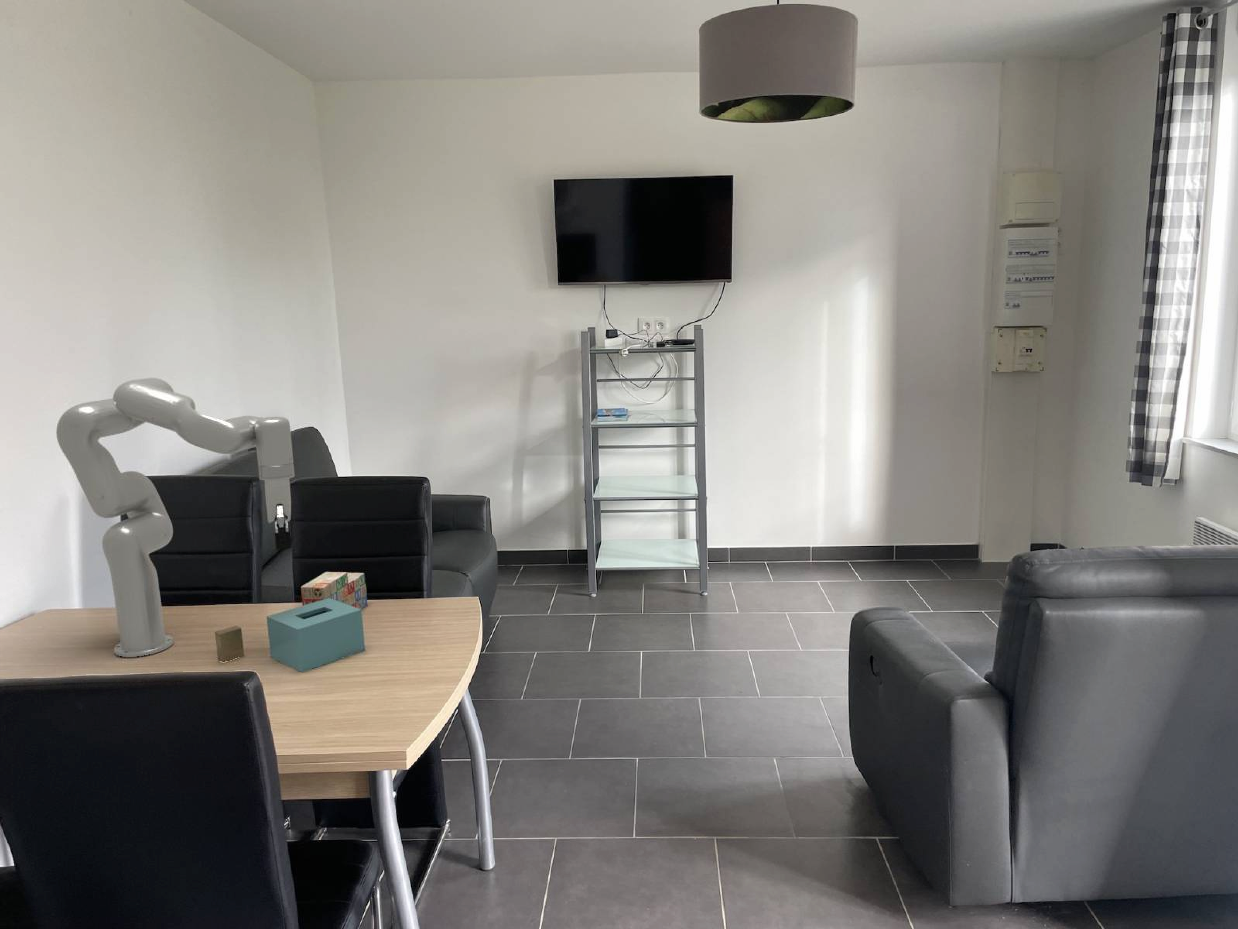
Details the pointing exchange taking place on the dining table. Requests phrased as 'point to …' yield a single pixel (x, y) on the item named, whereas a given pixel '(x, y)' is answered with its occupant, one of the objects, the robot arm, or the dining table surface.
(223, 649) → the tan flat block
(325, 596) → the stack of blocks
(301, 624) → the coin box
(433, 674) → the dining table surface
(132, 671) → the dining table surface
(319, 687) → the dining table surface
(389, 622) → the dining table surface
